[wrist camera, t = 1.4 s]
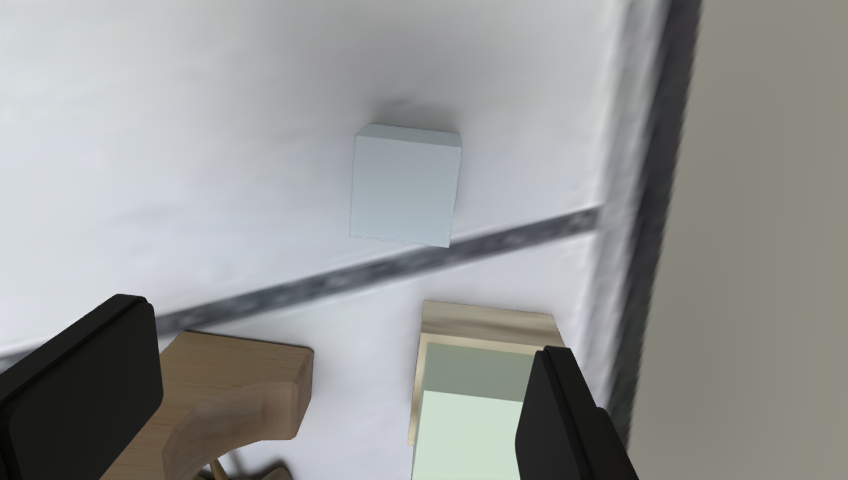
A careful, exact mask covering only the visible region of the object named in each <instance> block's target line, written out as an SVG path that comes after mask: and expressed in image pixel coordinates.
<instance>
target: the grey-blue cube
mask: <svg viewBox="0 0 848 480" xmlns="http://www.w3.org/2000/svg"><path fill="white" fill-rule="evenodd" d="M461 154H462V144H461V139H460V135H459V133H450V132H442V131H433V130H424V129H416V128H407V127H399V126H390V125H381V124H373V123H371V124H369V125H368V126H367V127H365V128H364V129H363V130H361V131H360V132H359V133H357V134H356V135H355V144H354V163H353V182H352V201H351V220H350V236H352V237H361V238H370V239H378V240H387V241H396V242H404V243H413V244H421V245H430V246H439V247H447V248H449V242H450V235H451V227H452V220H453V213H454V205H455V198H456V191H457V184H458V176H459V169H460V162H461Z"/></svg>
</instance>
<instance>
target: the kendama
mask: <svg viewBox="0 0 848 480" xmlns="http://www.w3.org/2000/svg"><path fill="white" fill-rule="evenodd" d="M209 464H210V467H211V470H212V473H213V475H214V478H215V480H229V479H228V477H227V475H226V473H225V471H224V469H223V467H222V466H221V464H220V462H219V461H218V459H215V460H214V461H212V462H210V463H209ZM192 480H207V479H205V478H203V477H201V476H197V475H196V476H195V477H194V478H193V479H192ZM261 480H292V478H291V476H290V474H289V472H288V470H287V469H285V468H283V467H279V468H276V469H275V470H273V471H272V472H270V473H269V474H268V475H266V476H265V477H263V478H262V479H261Z"/></svg>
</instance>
